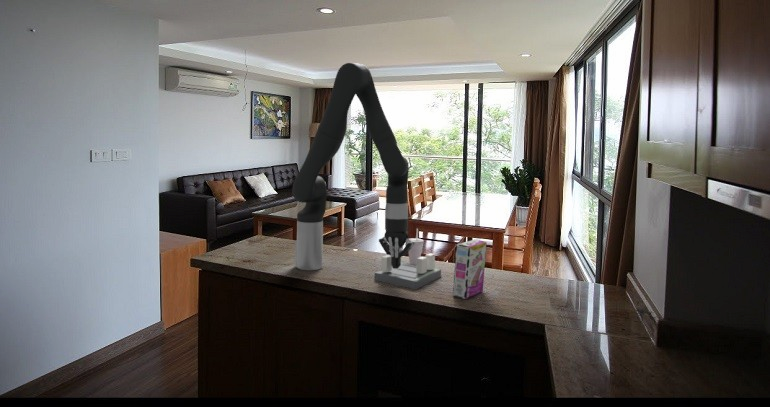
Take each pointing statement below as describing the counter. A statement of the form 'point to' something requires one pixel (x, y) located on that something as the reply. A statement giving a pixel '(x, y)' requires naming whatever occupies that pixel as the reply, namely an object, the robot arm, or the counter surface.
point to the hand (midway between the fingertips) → (396, 267)
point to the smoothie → (415, 249)
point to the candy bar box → (469, 268)
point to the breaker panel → (411, 273)
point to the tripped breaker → (386, 263)
